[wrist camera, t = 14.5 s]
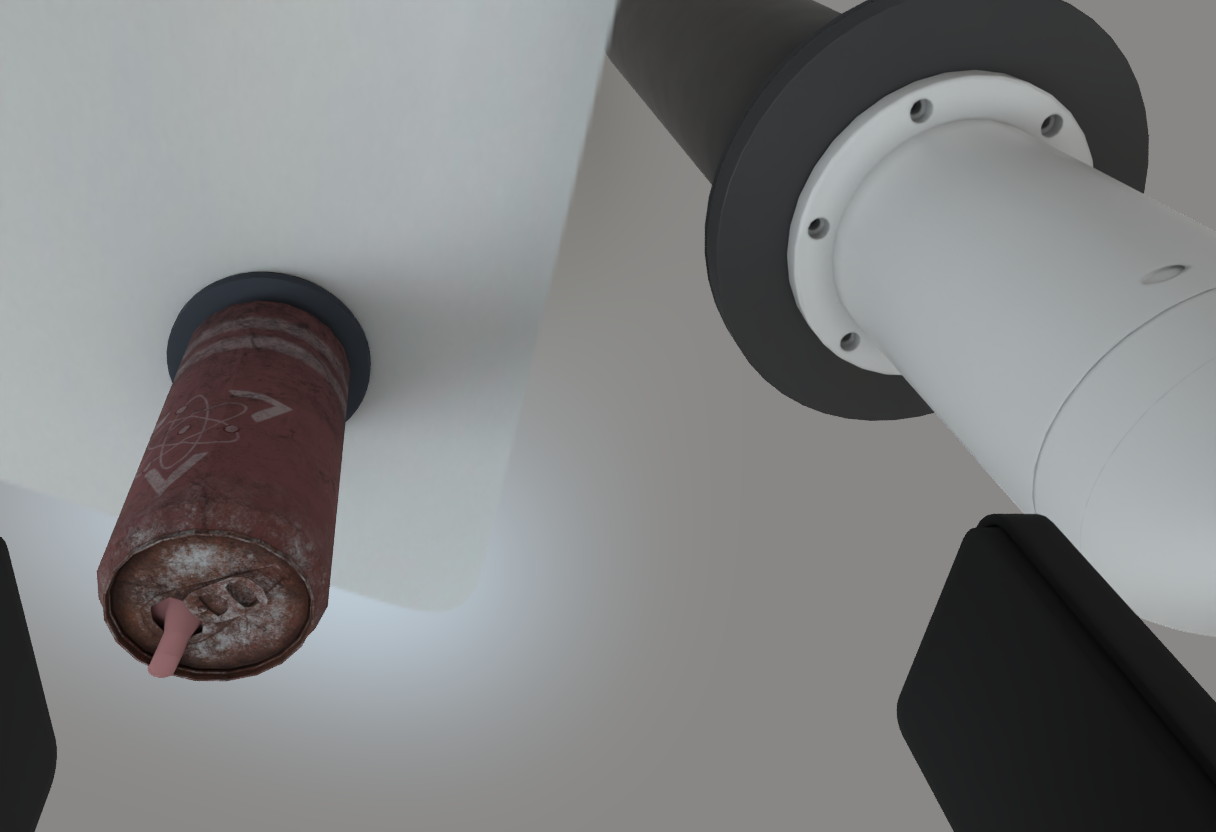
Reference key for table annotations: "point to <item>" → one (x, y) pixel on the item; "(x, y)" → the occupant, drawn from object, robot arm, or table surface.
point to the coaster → (279, 291)
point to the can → (233, 500)
